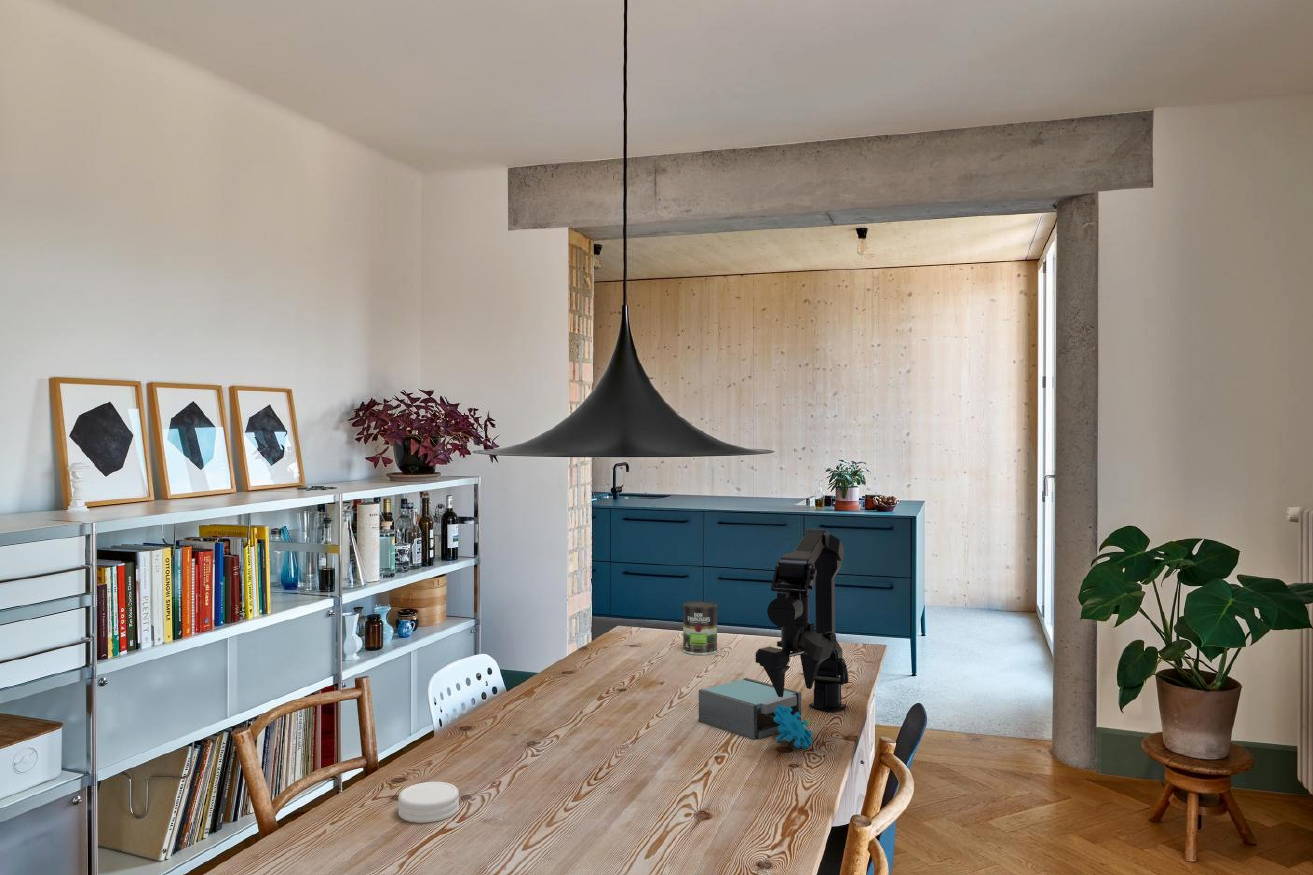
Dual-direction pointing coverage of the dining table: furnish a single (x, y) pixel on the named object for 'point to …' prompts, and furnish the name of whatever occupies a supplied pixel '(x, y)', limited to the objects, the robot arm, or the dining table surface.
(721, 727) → the grey drawer box
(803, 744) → the gear
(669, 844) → the dining table surface
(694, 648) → the coffee can
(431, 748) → the dining table surface
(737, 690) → the sliding box lid
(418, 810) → the coaster
